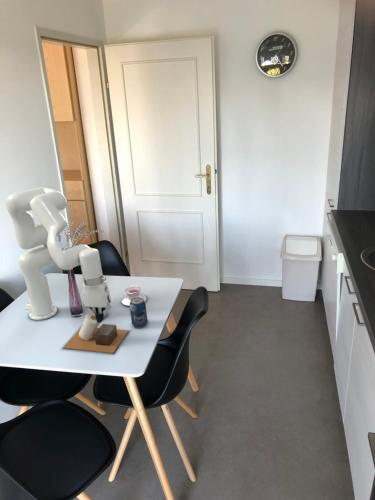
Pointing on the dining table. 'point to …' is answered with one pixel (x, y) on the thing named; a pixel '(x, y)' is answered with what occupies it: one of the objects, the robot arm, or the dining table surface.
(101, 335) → the walnut block
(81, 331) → the paper roll
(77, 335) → the cork mat
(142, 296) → the teacup
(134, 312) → the soda can
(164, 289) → the dining table surface
